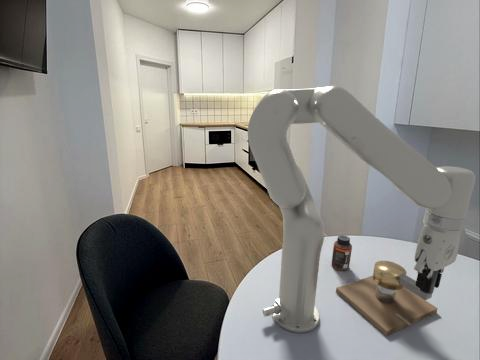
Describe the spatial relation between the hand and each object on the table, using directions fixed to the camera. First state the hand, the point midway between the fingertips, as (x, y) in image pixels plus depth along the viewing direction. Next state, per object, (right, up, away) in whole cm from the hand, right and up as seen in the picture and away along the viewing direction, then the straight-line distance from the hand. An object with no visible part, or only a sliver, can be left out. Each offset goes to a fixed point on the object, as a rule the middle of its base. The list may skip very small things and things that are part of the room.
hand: (426, 286), depth 70 cm
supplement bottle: (-11, -4, +29) cm, 32 cm away
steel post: (-5, -8, +12) cm, 15 cm away
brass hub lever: (-3, -3, +7) cm, 8 cm away
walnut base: (-5, -9, +12) cm, 16 cm away
